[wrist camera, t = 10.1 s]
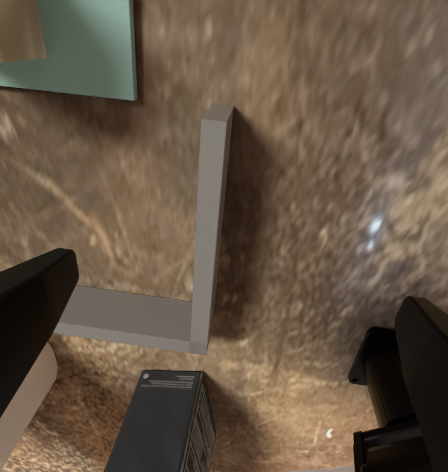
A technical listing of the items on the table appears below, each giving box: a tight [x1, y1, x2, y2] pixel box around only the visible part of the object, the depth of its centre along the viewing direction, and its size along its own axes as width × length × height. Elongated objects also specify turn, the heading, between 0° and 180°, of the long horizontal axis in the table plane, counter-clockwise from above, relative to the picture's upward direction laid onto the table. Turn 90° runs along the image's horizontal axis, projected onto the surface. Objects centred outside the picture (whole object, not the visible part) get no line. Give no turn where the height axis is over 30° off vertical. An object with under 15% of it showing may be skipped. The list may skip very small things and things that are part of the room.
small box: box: [104, 370, 216, 472], centre depth 30 cm, size 11×6×10 cm, turn 6°
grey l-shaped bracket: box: [53, 104, 234, 355], centre depth 22 cm, size 16×25×4 cm, turn 85°
